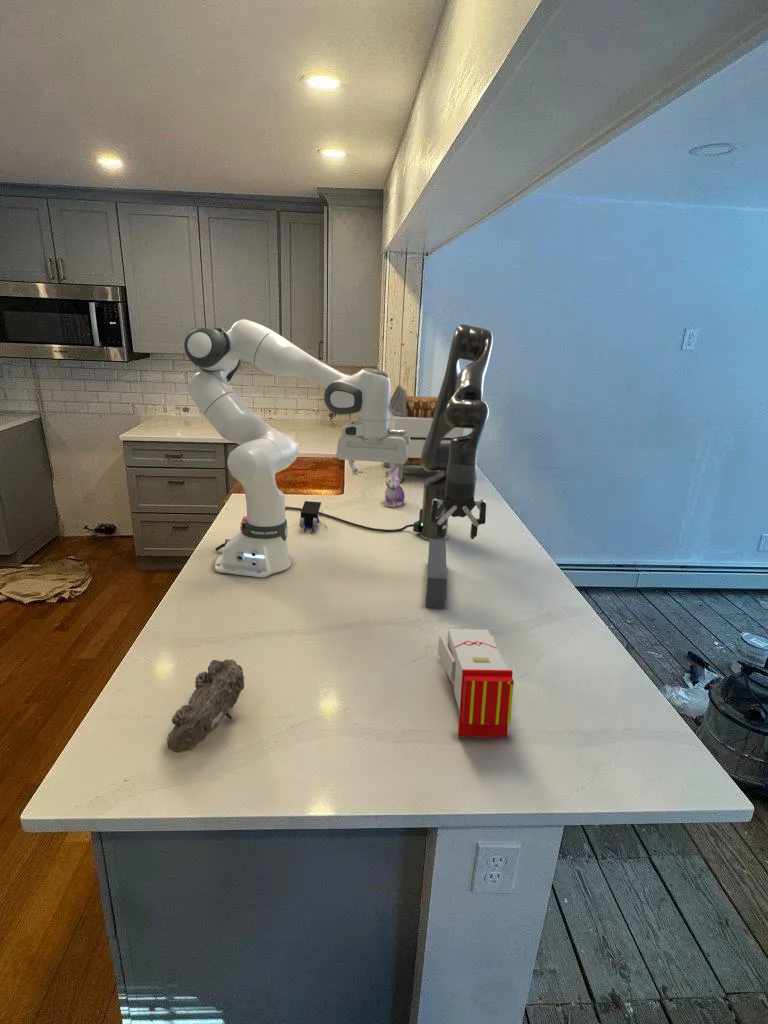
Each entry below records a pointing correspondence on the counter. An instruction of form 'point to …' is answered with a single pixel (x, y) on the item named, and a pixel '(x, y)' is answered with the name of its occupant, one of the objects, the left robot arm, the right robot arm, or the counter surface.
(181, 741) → the fossil
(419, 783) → the counter surface
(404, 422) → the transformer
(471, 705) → the toy
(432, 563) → the bar
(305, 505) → the figurine character
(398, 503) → the figurine
